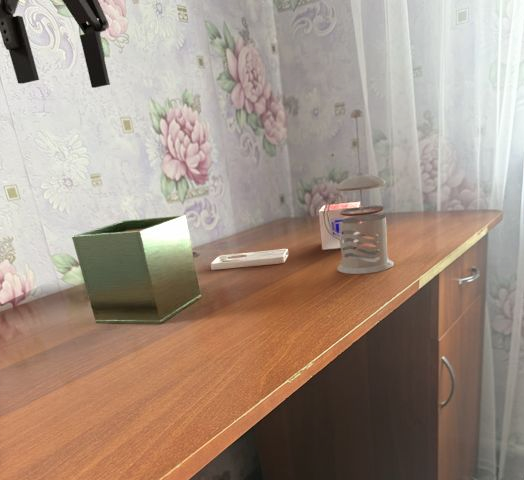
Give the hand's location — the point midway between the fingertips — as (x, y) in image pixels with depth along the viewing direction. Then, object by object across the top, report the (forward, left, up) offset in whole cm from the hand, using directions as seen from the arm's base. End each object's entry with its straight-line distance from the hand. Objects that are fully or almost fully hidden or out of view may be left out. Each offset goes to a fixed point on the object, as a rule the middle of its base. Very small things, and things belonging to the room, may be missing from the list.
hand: (67, 84), depth 66 cm
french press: (+31, +26, -33) cm, 52 cm away
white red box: (+23, +45, -33) cm, 61 cm away
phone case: (+7, +32, -33) cm, 47 cm away
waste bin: (+2, +3, -33) cm, 33 cm away
